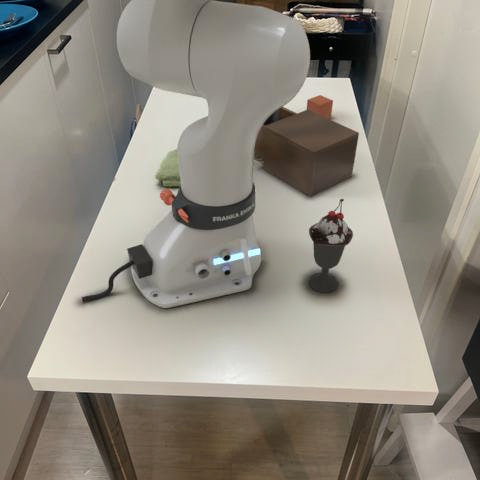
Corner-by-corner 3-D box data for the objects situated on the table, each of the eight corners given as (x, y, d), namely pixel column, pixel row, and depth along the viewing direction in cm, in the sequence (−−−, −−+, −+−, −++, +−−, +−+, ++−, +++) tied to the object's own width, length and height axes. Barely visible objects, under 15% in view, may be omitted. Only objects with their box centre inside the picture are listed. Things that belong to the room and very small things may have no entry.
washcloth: (167, 157, 112) (165, 143, 110) (244, 160, 111) (244, 146, 109) (155, 188, 103) (152, 174, 101) (239, 191, 102) (239, 177, 100)
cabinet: (262, 168, 109) (263, 126, 102) (304, 151, 114) (307, 109, 107) (309, 196, 101) (314, 152, 94) (351, 176, 106) (359, 132, 99)
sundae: (342, 270, 84) (356, 193, 74) (344, 297, 80) (359, 218, 69) (303, 268, 85) (311, 191, 74) (303, 295, 80) (312, 216, 70)
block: (318, 123, 124) (320, 105, 121) (305, 117, 126) (307, 99, 123) (330, 118, 126) (333, 100, 123) (318, 112, 128) (320, 94, 125)
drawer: (227, 142, 115) (226, 108, 110) (263, 128, 120) (264, 95, 115) (278, 171, 106) (279, 136, 100) (315, 155, 111) (319, 120, 105)
